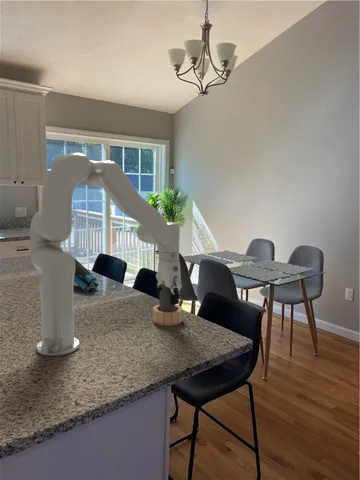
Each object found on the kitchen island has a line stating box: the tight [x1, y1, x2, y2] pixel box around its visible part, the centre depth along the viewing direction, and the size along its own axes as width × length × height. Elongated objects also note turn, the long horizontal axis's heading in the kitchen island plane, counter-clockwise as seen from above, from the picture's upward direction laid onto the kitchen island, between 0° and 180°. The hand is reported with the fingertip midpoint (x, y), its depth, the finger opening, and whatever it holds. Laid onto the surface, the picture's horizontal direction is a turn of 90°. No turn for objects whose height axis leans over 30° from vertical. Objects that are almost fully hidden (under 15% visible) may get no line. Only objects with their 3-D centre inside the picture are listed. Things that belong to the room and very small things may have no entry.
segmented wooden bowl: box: [152, 303, 183, 327], centre depth 140 cm, size 11×11×5 cm
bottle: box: [159, 280, 176, 312], centre depth 139 cm, size 6×6×15 cm
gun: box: [73, 256, 99, 293], centre depth 184 cm, size 8×26×15 cm, turn 46°
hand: (167, 300), depth 139 cm, fingers open, 9 cm apart
